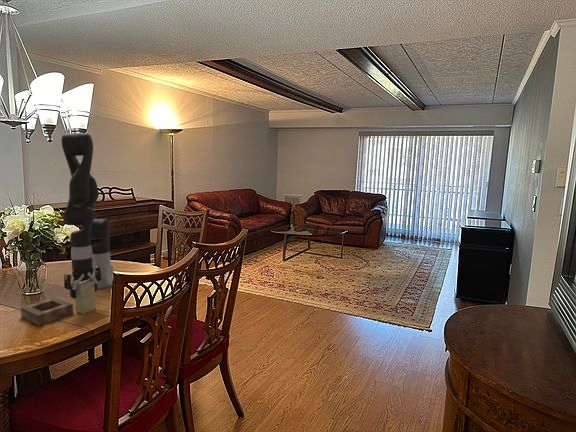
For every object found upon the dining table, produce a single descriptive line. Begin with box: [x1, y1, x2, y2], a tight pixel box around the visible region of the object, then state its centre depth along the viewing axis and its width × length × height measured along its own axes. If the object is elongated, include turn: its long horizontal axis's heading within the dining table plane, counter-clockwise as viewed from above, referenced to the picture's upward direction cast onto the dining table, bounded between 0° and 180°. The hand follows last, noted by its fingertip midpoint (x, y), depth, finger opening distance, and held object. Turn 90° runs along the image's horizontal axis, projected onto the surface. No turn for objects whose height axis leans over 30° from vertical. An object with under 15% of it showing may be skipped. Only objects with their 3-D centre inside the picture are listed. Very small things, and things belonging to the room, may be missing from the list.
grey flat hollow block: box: [20, 297, 74, 326], centre depth 152 cm, size 13×13×4 cm
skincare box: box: [74, 279, 97, 315], centre depth 157 cm, size 6×4×12 cm
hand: (84, 294), depth 157 cm, fingers open, 8 cm apart
